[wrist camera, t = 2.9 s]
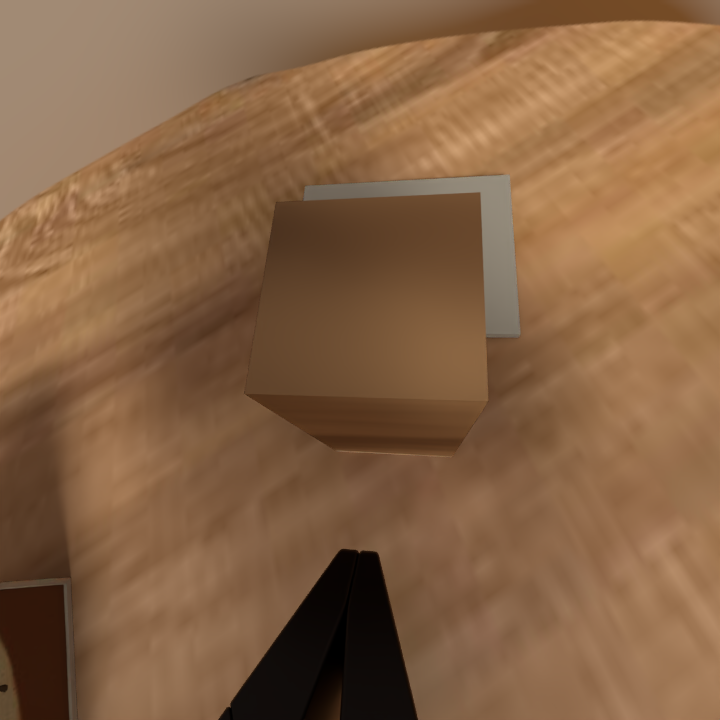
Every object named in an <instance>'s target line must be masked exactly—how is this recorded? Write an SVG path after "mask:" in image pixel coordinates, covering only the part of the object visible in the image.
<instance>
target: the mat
mask: <svg viewBox="0 0 720 720" xmlns="http://www.w3.org/2000/svg"><path fill="white" fill-rule="evenodd" d="M475 192H481V219H482V245H483V271H484V297H485V323H486V337H505V338H519V336H520V320H519V305H518V291H517V276H516V262H515V247H514V233H513V218H512V204H511V189H510V175H495V176H476V177H458V178H440V179H421V180H403V181H385V182H366V183H348V184H329V185H311V186H305V191H304V198H303V201H308V200H329V199H350V198H371V197H391V196H412V195H433V194H454V193H475Z"/></svg>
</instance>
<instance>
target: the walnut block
mask: <svg viewBox="0 0 720 720" xmlns="http://www.w3.org/2000/svg"><path fill="white" fill-rule="evenodd" d="M244 394H245V395H247V396H249V397H250V398H252V399H253V400H255V401H257V402H258V403H260V404H262V405H263V406H265V407H266V408H268V409H270V410H271V411H273V412H274V413H276V414H278V415H279V416H281V417H282V418H284V419H286V420H287V421H289V422H290V423H292V424H294V425H295V426H297V427H299V428H300V429H302V430H303V431H305V432H307V433H308V434H310V435H311V436H313V437H315V438H316V439H318V440H319V441H321V442H323V443H324V444H326V445H327V446H329V447H331V448H332V449H334V450H336V451H341V452H360V453H379V454H398V455H417V456H436V457H453V455H454V454H455V452H456V450H457V449H458V447H459V446H460V444H461V443H462V441H463V440H464V438H465V437H466V435H467V434H468V432H469V430H470V429H471V427H472V426H473V424H474V423H475V421H476V420H477V418H478V417H479V415H480V414H481V412H482V410H483V409H484V407H485V406H486V404H487V403H488V375H487V349H486V323H485V297H484V271H483V245H482V219H481V192H475V193H454V194H433V195H412V196H391V197H371V198H350V199H329V200H308V201H287V202H276V205H275V211H274V217H273V223H272V229H271V235H270V241H269V248H268V254H267V260H266V266H265V272H264V278H263V284H262V290H261V296H260V302H259V308H258V314H257V320H256V326H255V332H254V338H253V344H252V350H251V356H250V362H249V368H248V374H247V380H246V386H245V392H244Z"/></svg>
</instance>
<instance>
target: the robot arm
mask: <svg viewBox="0 0 720 720" xmlns="http://www.w3.org/2000/svg"><path fill="white" fill-rule="evenodd" d="M230 705H231V708H230V707H227V708H226V709H225V711H224V712H223V714H222V715H221V716H220V718H219V719H218V720H418V717H417V713H416V708H415V704H414V700H413V696H412V692H411V688H410V683H409V679H408V675H407V671H406V667H405V662H404V658H403V654H402V650H401V646H400V642H399V637H398V633H397V629H396V625H395V621H394V616H393V612H392V608H391V604H390V600H389V596H388V591H387V587H386V583H385V579H384V575H383V570H382V566H381V562H380V558H379V555H378V553H377V552H373V551H361V552H360V553H359V552H358V551H357V550H351V549H341V550H340V551H339V552H338V553H337V554H336V556H335V557H334V559H333V560H332V561H331V563H330V564H329V566H328V567H327V568H326V570H325V571H324V573H323V574H322V575H321V577H320V578H319V580H318V581H317V582H316V584H315V585H314V587H313V588H312V589H311V591H310V592H309V594H308V595H307V596H306V598H305V599H304V601H303V602H302V603H301V605H300V606H299V608H298V609H297V610H296V612H295V613H294V615H293V616H292V617H291V619H290V620H289V622H288V623H287V624H286V626H285V627H284V629H283V630H282V631H281V633H280V634H279V636H278V637H277V638H276V640H275V641H274V643H273V644H272V645H271V647H270V648H269V650H268V651H267V652H266V654H265V655H264V657H263V658H262V659H261V661H260V662H259V664H258V665H257V666H256V668H255V669H254V670H253V672H252V673H251V675H250V676H249V677H248V679H247V680H246V682H245V683H244V684H243V686H242V687H241V689H240V690H239V691H238V693H237V694H236V696H235V697H234V698H233V700H232V701H231V704H230Z"/></svg>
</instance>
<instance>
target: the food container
mask: <svg viewBox="0 0 720 720" xmlns="http://www.w3.org/2000/svg"><path fill="white" fill-rule="evenodd" d="M0 720H78V718H77V697H76V677H75V656H74V635H73V615H72V594H71V577H65V578H51V579H37V580H23V581H8V582H0Z"/></svg>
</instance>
